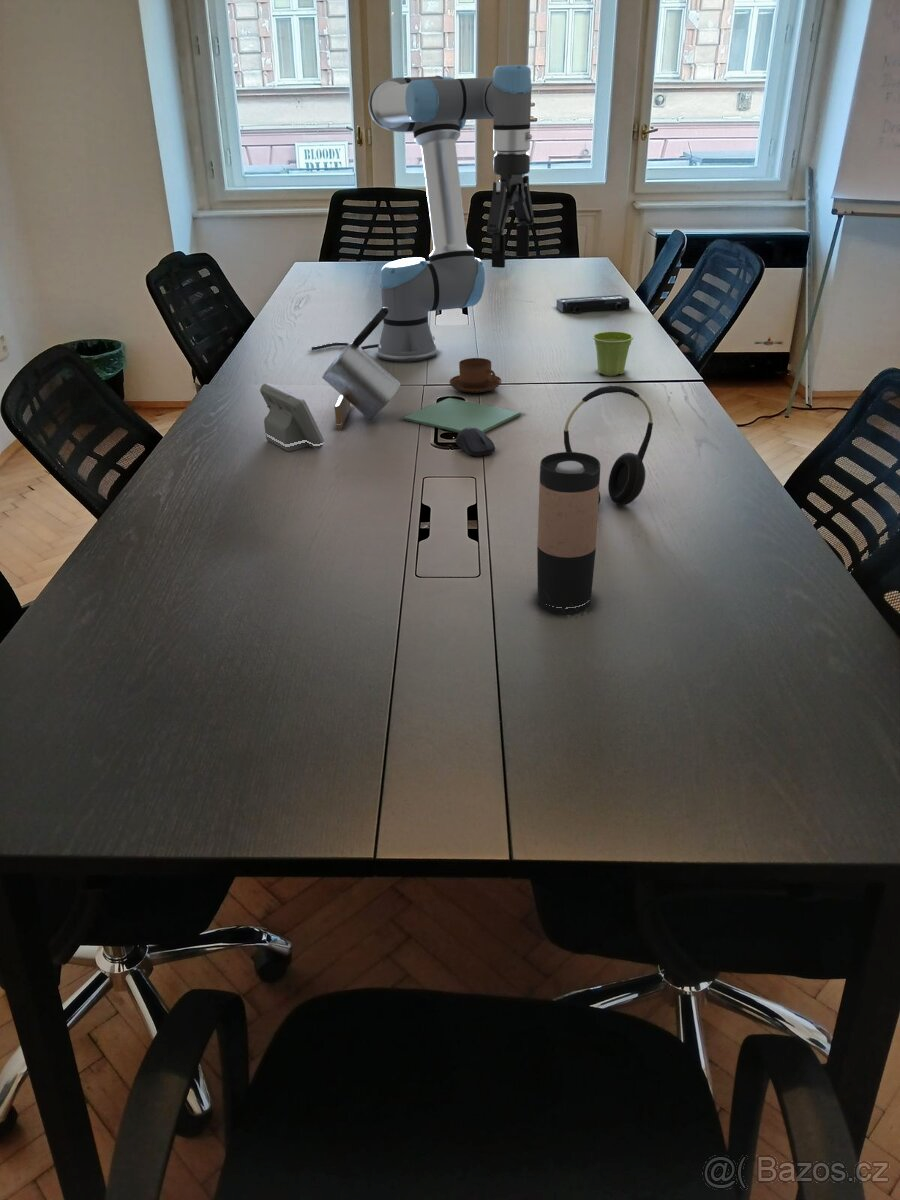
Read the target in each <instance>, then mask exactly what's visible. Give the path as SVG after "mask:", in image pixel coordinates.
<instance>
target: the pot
mask: <svg viewBox="0 0 900 1200" xmlns="http://www.w3.org/2000/svg"><path fill="white" fill-rule="evenodd" d="M388 312H389V311H388V309H387V308H386V307H383V308H382V307H381V309H380V310H379V311H378V312H377V313H376V314H375V315H374V316H373V318H372V319H371V320H370V321H369V322H368V323H367V324H366V326H365V327H364V328H363V329H362V330H361V331H360V333H359V334H358V335H357V336H356V337H355V338H354V340H352V341H350V343H349V342H348V343H349V344H348V345H347V346H344V348H343V349H342V351H341V352H340V353H339V354H338V355H337V356H336V357H335V359H334V360H333V361H332V362H331V364H330V365H329V366H328V368H327V369H326V370H325V372H324V373H323V375H321V379H323V380H324V381H325V382H326V383H327V384H328V385H329V386H331V387H332V388H333V389H334V390H335V391H336V392H338V393H339V395H340V394H341V395H342V396H343V397H344V398H346V399H347V400H348V401H349V402H350V405H352V406H353V407H355V409H357V410H358V411H359V412H360V413H361V414H362V415H363V416H364V417H366V418H367V419H368V420H372V419H373V418H375V417H376V416H377V415H378V414H379V413H381V411H382V410H383V409H384V408H385V407H386V405H388V403H389V402H390V401H391V399H393V397H394V396H395V394H396V393H397V391H398V390H399V388H400V387H401V383H400V381H398V379H396V377H394V376H393V375H392V374H390V372H388V370H386V369H385V367H383V366H382V365H381V364H380V363H378V362H377V360H375V358H373V357H372V356H371V355H370V354H369V353H368V352H367V351H365V349H364V350H363V349H362V348H361V347H362V346H361V345H362V344H363V343H364V342H365V341H366V340H367V338H368V337H369V336H370V335H371V334H372V333H373V332H374V331H375V329H376V328H377V327H378V326H379V325H380V323H382V322H383V319H384V318H385V317H386V315H387V314H388Z"/></svg>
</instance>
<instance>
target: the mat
mask: <svg viewBox="0 0 900 1200" xmlns="http://www.w3.org/2000/svg"><path fill="white" fill-rule="evenodd" d="M520 415H521V412H520V411H515V410H511V409H506V408H501V407H496V406H492V405H486V404H481V403H477V402H472V401H468V400H467V401H466V400H462V399H458V398H454V397H453V398H452V397H448V398H445V399H442V400H441V401H438V402H436V403H433V404H431V405H429V406H427V407H424V408H422V409H420V410H418V411H415V412H412V413H410V414H408V415H406V416H403V421H407V422H411V423H415V424H420V425H425V426H429V427H432V428H438V429H442V430H444V431H445V430H446V431H450V432H455V433H458V434H459V432H460V431H461V430H463V429H464V428H467V427H474V428H477V429H479V430H481V431H482V432H483V433H484V434H486V432H489V431H491V430H493V429H495V428H497V427H499V426H501V425H503V424H505V423H507V422H509V421H511V420H513V419H514V418H517V417H519V416H520Z"/></svg>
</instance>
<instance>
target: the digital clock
mask: <svg viewBox="0 0 900 1200" xmlns="http://www.w3.org/2000/svg"><path fill="white" fill-rule="evenodd" d="M259 392H260V394H261V396H262V398H263V401H264V402H265V404H266V407H267V408H268V409H269V411H268V413H267V415H266V416H265V417H264V419H263V424H264V425H263V426H264V433H265V434H266V433H267V434H268V435H270V436H272V437H274V438H275V439H277V440H279V441H281V442H283V443H284V444H290V443H294V442H298V441H302V440H307V441H309V442H311V443H313V444H320V443H323V442H324V443H325V439H324V437H323V435H322V432H321V431H320V429H319V426H318V424H317V422H316V421H315V418H314V416H313V414H312V412H311V410H310V408H309V406H308V404H307V402H306V400H305V399H304V398H302V397H301V396H298V395H296V394H294V393H291V392H289V391H287V390H285V389H283V388H281V387H279V386H278V385H277V386H276V385H275V384H272V383H263V384H262V385H261V386H260V389H259ZM265 438H266V441H268V442H270V443H272V444H273V445H275V446H276V447H279V448H281V449H283V450H284V451H286V452H292V451H296V450H300V449H304V448H307V447H311V448H313V449H321V448H323V447H324V444H323V445H320V446H313V445H312V444H309V443H307V442H305V443H301V444H297V445H294V446H290V447H285V446H283V445H281V444H280V443H278V442H276V441H274V440H272V439H271V438H269V437H267V436H266V435H265Z"/></svg>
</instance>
